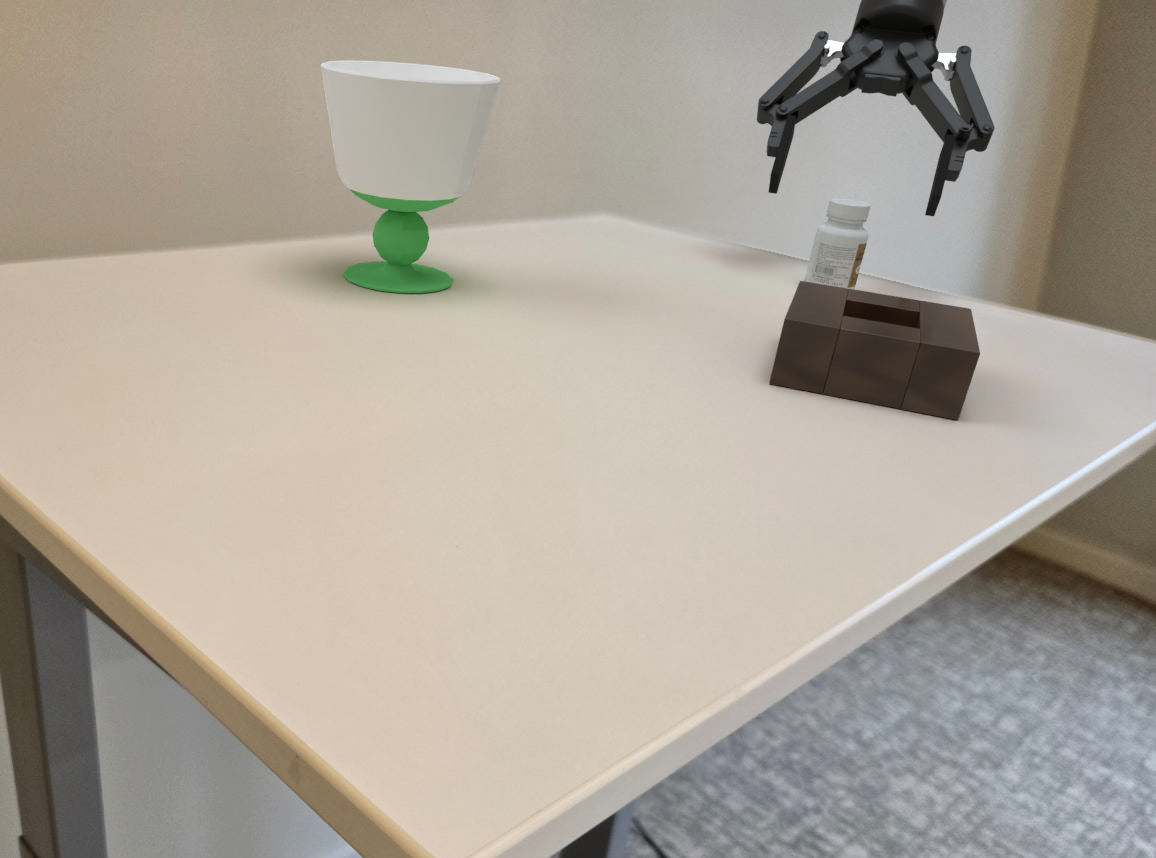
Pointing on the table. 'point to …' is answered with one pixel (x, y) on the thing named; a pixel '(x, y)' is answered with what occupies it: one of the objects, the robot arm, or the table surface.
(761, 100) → the robot arm
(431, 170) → the cup
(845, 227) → the pill bottle
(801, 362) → the holder
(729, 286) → the table surface
